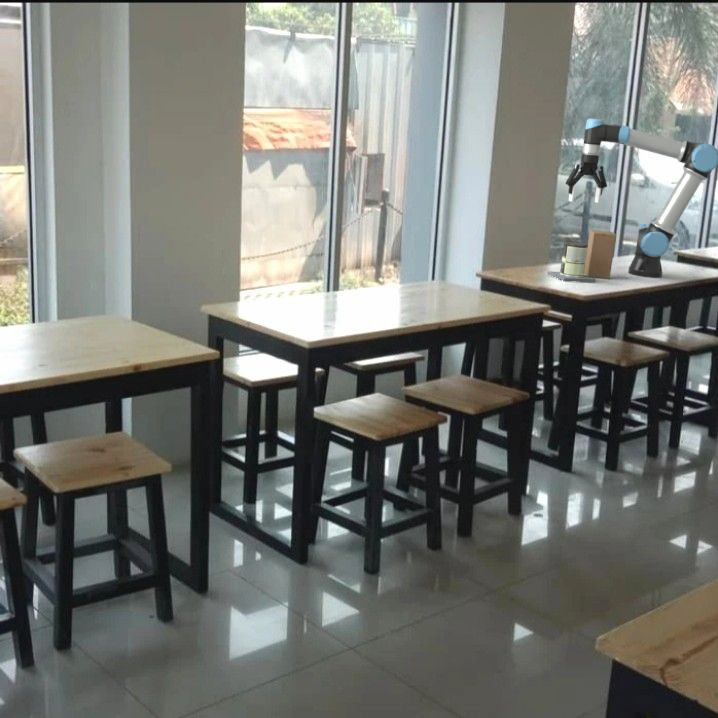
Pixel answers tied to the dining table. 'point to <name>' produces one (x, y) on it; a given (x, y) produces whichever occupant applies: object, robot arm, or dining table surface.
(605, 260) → the wooden block
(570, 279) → the grey mat
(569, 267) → the coffee can
